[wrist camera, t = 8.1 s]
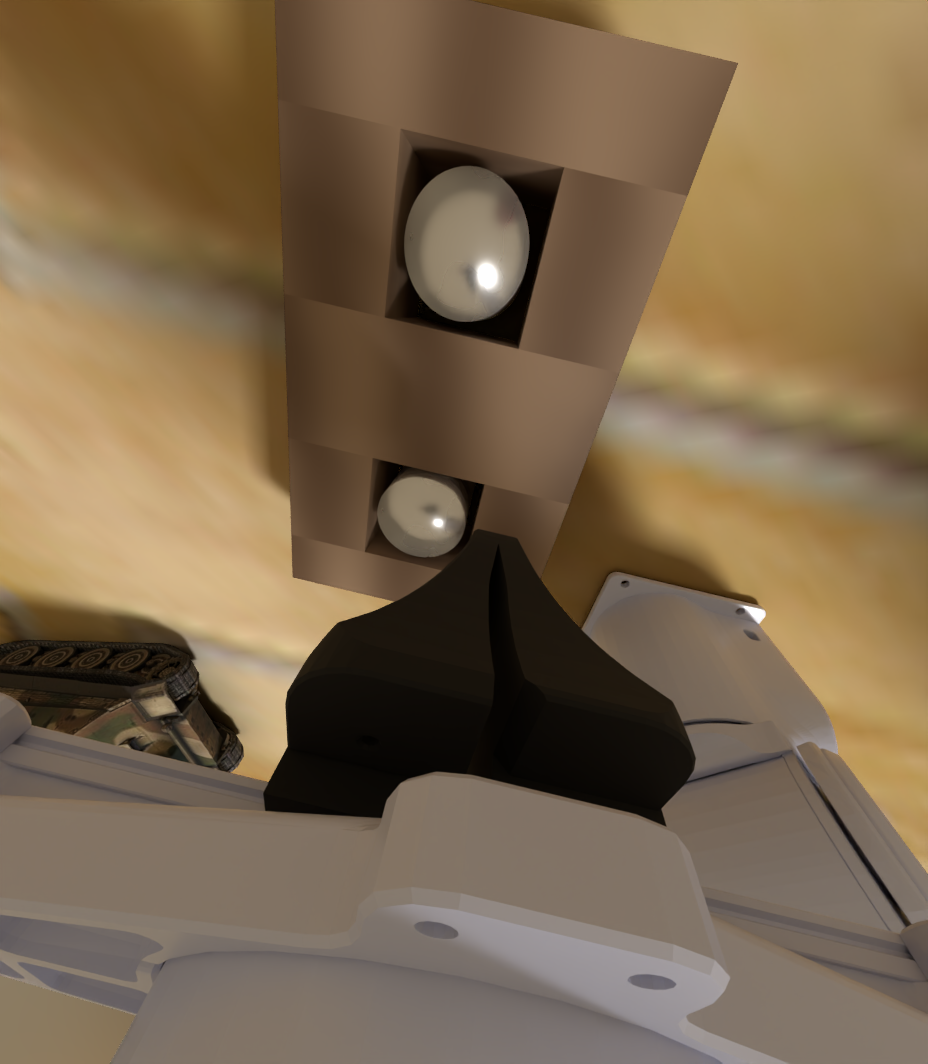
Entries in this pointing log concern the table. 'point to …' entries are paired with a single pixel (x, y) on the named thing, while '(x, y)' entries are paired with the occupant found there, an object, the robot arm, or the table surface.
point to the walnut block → (384, 283)
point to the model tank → (118, 697)
